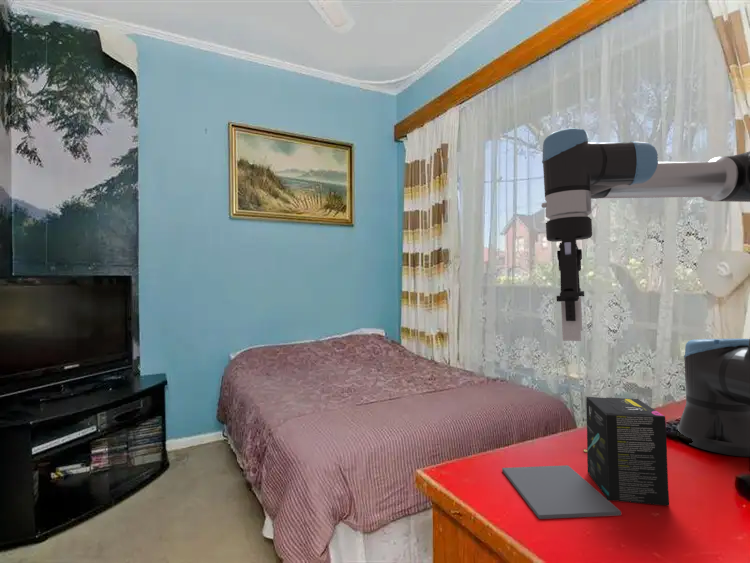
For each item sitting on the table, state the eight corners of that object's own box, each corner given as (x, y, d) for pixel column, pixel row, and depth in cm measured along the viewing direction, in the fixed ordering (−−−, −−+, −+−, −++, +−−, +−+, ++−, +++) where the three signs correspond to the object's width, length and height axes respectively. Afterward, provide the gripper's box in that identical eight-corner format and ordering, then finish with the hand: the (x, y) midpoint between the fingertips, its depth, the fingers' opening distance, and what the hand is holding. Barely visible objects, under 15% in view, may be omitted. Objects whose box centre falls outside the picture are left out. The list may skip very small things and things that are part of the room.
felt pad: (568, 468, 79) (568, 465, 79) (621, 515, 63) (621, 511, 63) (502, 470, 78) (502, 467, 78) (539, 519, 62) (538, 515, 62)
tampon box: (670, 507, 65) (668, 416, 65) (607, 502, 67) (605, 413, 67) (640, 475, 76) (638, 396, 76) (586, 471, 78) (585, 395, 78)
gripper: (551, 227, 86) (555, 326, 86) (538, 211, 64) (544, 345, 64) (591, 223, 83) (595, 327, 83) (591, 205, 61) (598, 346, 61)
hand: (573, 335), depth 74 cm, fingers open, 13 cm apart
